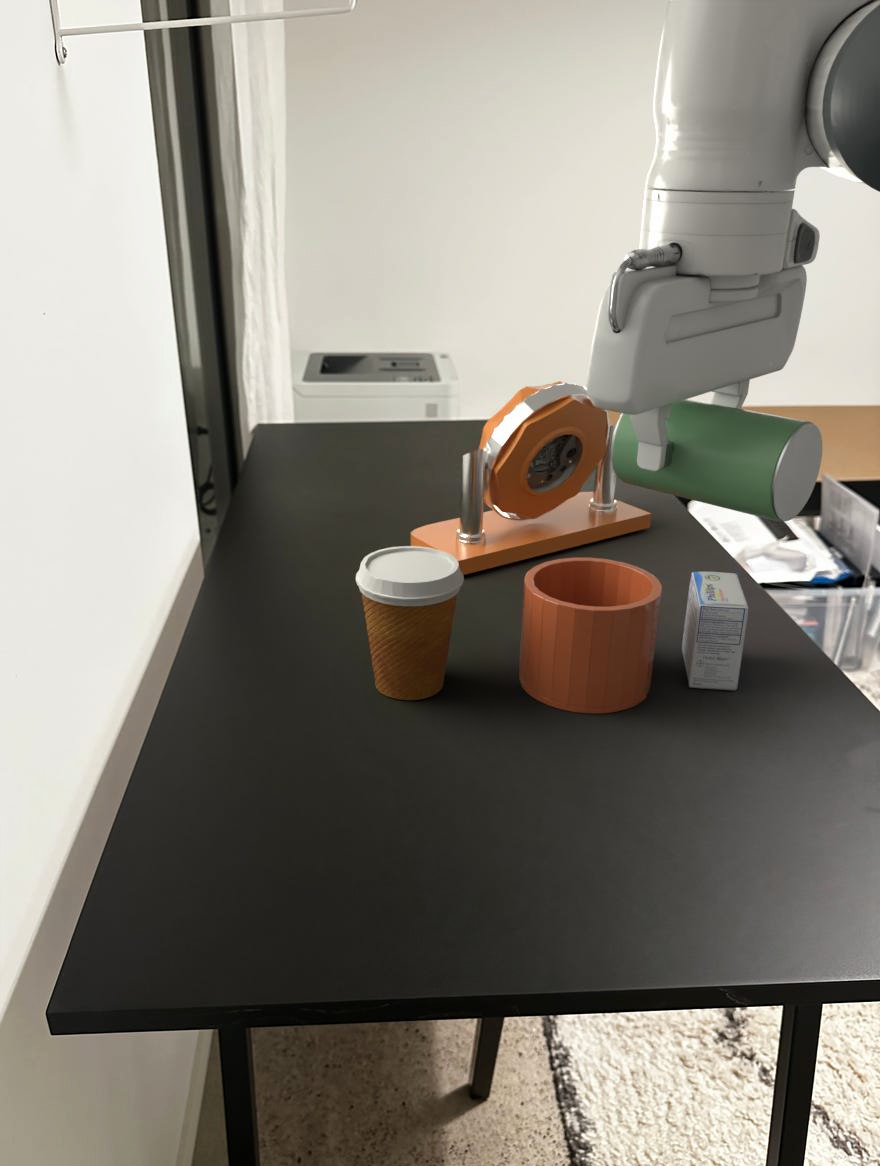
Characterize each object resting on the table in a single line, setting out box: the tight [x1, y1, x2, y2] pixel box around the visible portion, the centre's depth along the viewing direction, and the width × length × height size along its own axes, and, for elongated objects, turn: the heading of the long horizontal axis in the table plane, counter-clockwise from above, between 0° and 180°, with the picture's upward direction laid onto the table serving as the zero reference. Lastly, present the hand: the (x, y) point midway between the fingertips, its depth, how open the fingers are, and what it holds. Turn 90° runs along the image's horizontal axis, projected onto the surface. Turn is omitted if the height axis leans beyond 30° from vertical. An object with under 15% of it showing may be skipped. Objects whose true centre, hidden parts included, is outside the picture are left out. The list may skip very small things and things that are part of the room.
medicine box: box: [681, 571, 750, 692], centre depth 97 cm, size 8×4×9 cm, turn 171°
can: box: [611, 398, 823, 523], centre depth 69 cm, size 12×6×6 cm, turn 45°
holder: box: [518, 557, 663, 714], centre depth 95 cm, size 12×12×10 cm
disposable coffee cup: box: [355, 545, 465, 701], centre depth 94 cm, size 10×10×12 cm
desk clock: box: [410, 381, 652, 576], centre depth 126 cm, size 12×30×20 cm, turn 123°
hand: (685, 456), depth 71 cm, fingers closed on can, 6 cm apart
